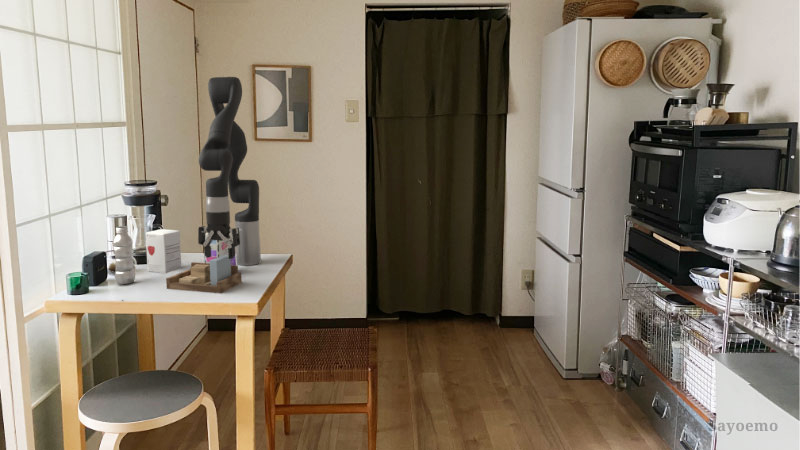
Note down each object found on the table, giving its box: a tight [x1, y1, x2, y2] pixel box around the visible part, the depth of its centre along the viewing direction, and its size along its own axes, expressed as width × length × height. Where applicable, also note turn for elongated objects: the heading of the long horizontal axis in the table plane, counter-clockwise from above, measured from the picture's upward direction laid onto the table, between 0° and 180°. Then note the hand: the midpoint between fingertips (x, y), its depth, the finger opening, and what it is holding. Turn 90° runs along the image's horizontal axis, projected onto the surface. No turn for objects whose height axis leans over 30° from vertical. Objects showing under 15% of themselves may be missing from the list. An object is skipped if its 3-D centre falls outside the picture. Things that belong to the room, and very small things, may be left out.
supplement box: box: [145, 228, 182, 274], centre depth 244 cm, size 9×9×15 cm
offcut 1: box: [179, 276, 199, 284], centre depth 217 cm, size 4×5×3 cm
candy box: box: [203, 232, 237, 265], centre depth 238 cm, size 14×6×16 cm, turn 168°
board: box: [210, 255, 231, 286], centre depth 217 cm, size 9×2×10 cm, turn 165°
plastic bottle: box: [112, 225, 136, 285], centre depth 224 cm, size 6×7×20 cm
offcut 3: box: [189, 274, 211, 285], centre depth 222 cm, size 5×6×3 cm
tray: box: [165, 261, 242, 294], centre depth 219 cm, size 14×20×7 cm
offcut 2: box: [189, 264, 210, 276], centre depth 222 cm, size 4×5×3 cm
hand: (219, 257), depth 216 cm, fingers open, 8 cm apart
